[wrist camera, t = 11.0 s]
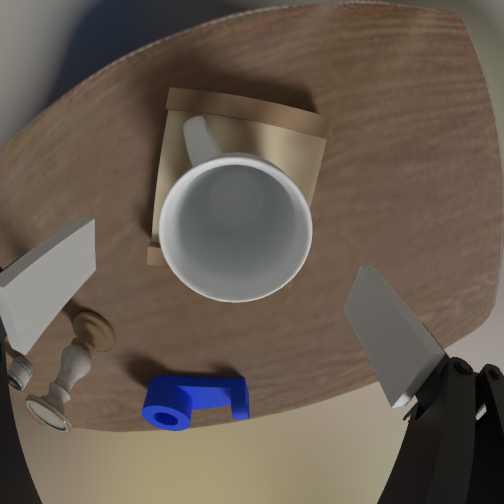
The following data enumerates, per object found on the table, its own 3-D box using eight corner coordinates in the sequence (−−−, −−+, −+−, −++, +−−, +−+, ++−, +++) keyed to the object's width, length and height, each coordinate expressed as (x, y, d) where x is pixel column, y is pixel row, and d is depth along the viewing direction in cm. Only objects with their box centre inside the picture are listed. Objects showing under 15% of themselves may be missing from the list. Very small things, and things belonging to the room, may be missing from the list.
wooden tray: (156, 249, 36) (147, 264, 32) (178, 93, 28) (169, 87, 24) (285, 271, 38) (290, 288, 34) (323, 121, 30) (335, 119, 26)
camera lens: (37, 374, 48) (25, 395, 41) (22, 369, 48) (10, 388, 40) (28, 357, 45) (14, 378, 38) (13, 352, 45) (-1, 371, 38)
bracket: (159, 401, 50) (152, 429, 43) (143, 374, 46) (133, 404, 39) (250, 398, 50) (251, 428, 43) (243, 369, 46) (244, 403, 39)
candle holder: (76, 302, 39) (16, 386, 21) (119, 325, 41) (73, 421, 22) (72, 335, 42) (25, 413, 23) (111, 355, 44) (75, 442, 25)
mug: (158, 145, 28) (106, 152, 16) (248, 102, 27) (254, 76, 15) (214, 256, 34) (202, 322, 22) (298, 221, 32) (332, 271, 20)
